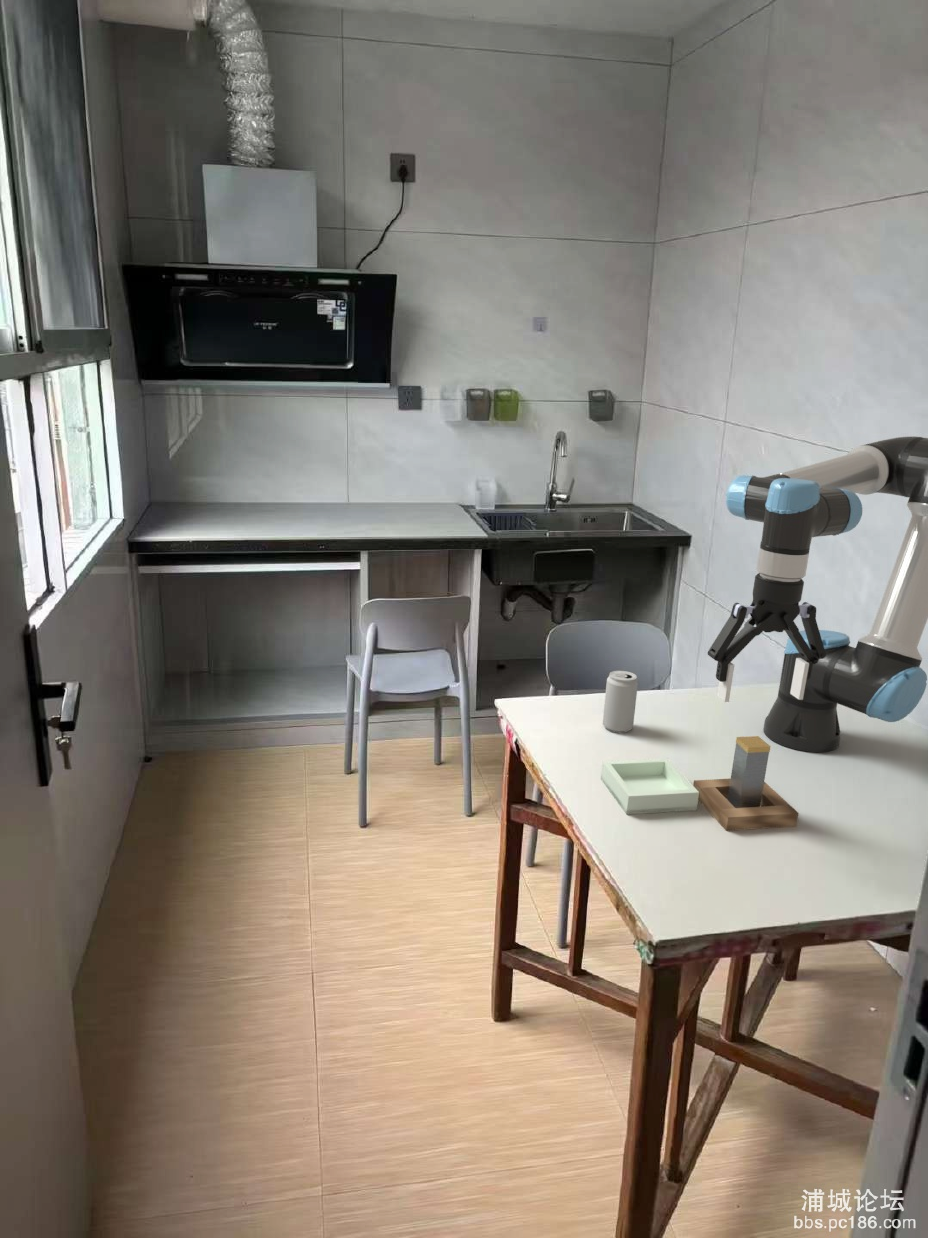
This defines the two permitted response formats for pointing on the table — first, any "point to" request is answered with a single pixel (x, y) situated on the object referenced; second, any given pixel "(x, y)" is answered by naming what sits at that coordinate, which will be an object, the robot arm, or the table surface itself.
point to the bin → (649, 786)
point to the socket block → (732, 818)
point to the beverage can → (620, 701)
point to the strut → (748, 772)
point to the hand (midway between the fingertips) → (759, 697)
